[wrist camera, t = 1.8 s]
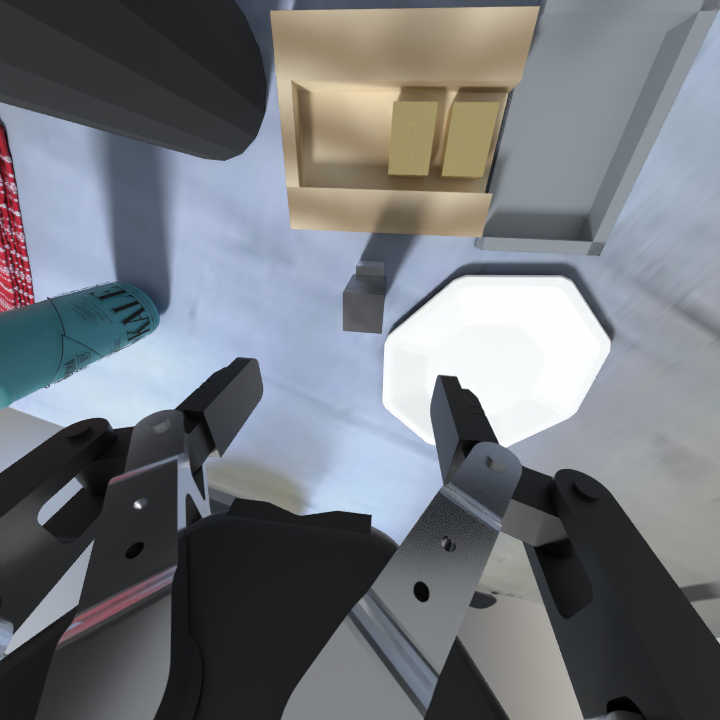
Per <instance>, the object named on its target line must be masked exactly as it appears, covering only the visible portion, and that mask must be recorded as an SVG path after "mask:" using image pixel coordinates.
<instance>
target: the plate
mask: <svg viewBox="0 0 720 720" xmlns="http://www.w3.org/2000/svg"><path fill="white" fill-rule="evenodd" d="M610 350H611V340H610V338H609V337H608V335H607V333H606V332H605V330H604V329H603V327H602V326H601V324H600V323H599V321H598V320H597V318H596V316H595V315H594V313H593V312H592V310H591V309H590V307H589V306H588V304H587V302H586V301H585V299H584V298H583V296H582V295H581V293H580V292H579V290H578V289H577V287H576V285H575V284H574V282H573V281H572V280H571V279H568V278H566V277H564V276H562V275H464V276H461V277H458V278H456V279H453V280H452V281H451V282H450V283H449V284H448V285H446V286H445V287H444V288H443V289H442V290H440V291H439V292H438V293H437V294H436V295H435V296H433V297H432V298H431V299H430V300H429V301H427V302H426V303H425V304H424V305H423V306H422V307H420V308H419V309H418V310H417V311H416V312H414V313H413V314H412V315H411V316H410V317H409V318H407V319H406V320H405V321H404V322H403V323H401V324H400V325H399V326H398V327H397V328H396V329H394V330H393V331H392V332H391V333H390V334H389V335H388V337H387V339H386V341H385V347H384V374H383V401H382V402H383V404H384V406H385V408H386V409H388V410H389V411H390V412H391V413H392V414H393V415H395V416H396V417H397V418H398V419H399V420H401V421H402V422H403V423H404V424H405V425H406V426H408V427H409V428H410V429H411V430H412V431H414V432H415V433H416V434H417V435H418V436H420V437H421V438H422V439H423V440H424V441H425V442H427V443H429V444H432V445H436V443H435V438H434V433H433V428H432V423H431V418H430V404H431V399H432V395H433V391H434V386H435V382H436V378H437V376H438V375H448V376H457V378H458V380H459V383H460V385H461V388H463V389H469V390H470V391H471V392H472V393H473V394H475V395H476V396H477V397H478V399H479V402H480V404H481V406H482V408H483V410H484V412H485V416H487V419H488V421H489V423H490V425H491V427H492V429H493V431H494V433H495V436H496V438H497V440H498V442H499V444H500V445H501V446H504V447H505V448H506V447H508V446H510V445H512V444H514V443H516V442H519V441H521V440H523V439H525V438H527V437H529V436H531V435H534V434H536V433H538V432H540V431H542V430H544V429H547V428H549V427H551V426H553V425H555V424H557V423H559V422H562V421H564V420H566V419H568V418H570V417H571V416H572V415H573V414H574V413H576V412H577V410H578V408H579V406H580V404H581V403H582V401H583V399H584V397H585V395H586V394H587V392H588V390H589V388H590V386H591V385H592V383H593V381H594V379H595V377H596V375H597V374H598V372H599V370H600V368H601V366H602V365H603V363H604V361H605V359H606V357H607V356H608V354H609V352H610Z"/></svg>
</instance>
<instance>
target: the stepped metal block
mask: <svg viewBox="0 0 720 720" xmlns="http://www.w3.org/2000/svg"><path fill="white" fill-rule="evenodd" d="M384 263H385V262H384V261H365V260H359V262H358V264H357V265H356V274H353V276H352V277H351V279H350V281H349V283H348V284H347V286H346V288H345V290H344V291H343V331H352V332H365V333H379V334H382V323H383V311H384V299H385V285H386V276H383V275H384Z"/></svg>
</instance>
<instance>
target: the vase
mask: <svg viewBox="0 0 720 720" xmlns="http://www.w3.org/2000/svg"><path fill="white" fill-rule="evenodd" d="M265 90H266V81H265V76H264V71H263V65H262V60H261V55H260V50H259V47H258V44H257V42H256V40H255V38H254V35H253V33H252V31H251V29H250V26H249V24H248V22H247V20H246V17H245V15H244V14H243V12H242V11H241V10H240V8H239V7H238V5H237V4H236V3H235V1H234V0H0V102H2V103H5V104H9V105H13V106H16V107H20V108H23V109H27V110H31V111H34V112H38V113H41V114H45V115H49V116H52V117H56V118H59V119H63V120H67V121H70V122H74V123H77V124H81V125H85V126H88V127H92V128H96V129H99V130H103V131H106V132H110V133H114V134H117V135H121V136H124V137H128V138H132V139H135V140H139V141H142V142H146V143H150V144H153V145H157V146H160V147H164V148H168V149H171V150H175V151H178V152H182V153H186V154H189V155H193V156H196V157H200V158H204V159H212V160H222V161H225V160H228V159H230V158H233V157H235V156H238V155H240V154H242V153H243V152H244V151H245V150H246V149H247V147H248V146H249V145H250V144H251V143H252V142H253V141H254V139H255V138H256V136H257V133H258V130H259V127H260V125H261V122H262V119H263V116H264V111H265Z"/></svg>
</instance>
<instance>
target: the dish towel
mask: <svg viewBox="0 0 720 720" xmlns="http://www.w3.org/2000/svg"><path fill="white" fill-rule="evenodd" d="M31 304H34V294H33V286H32V277H31V271H30V266H29V258H28V255H27V250H26V244H25V236H24V231H23V224H22V218H21V212H20V208H19V199H18V193H17V186H16V182H15V177H14V173H13V167H12V160H11V157H10V155H9V152H8V148H7V143H6V139H5V134H4V129H3V127H2V126H1V125H0V312H3V311H7V310H11V309H15V308H19V307H23V306H27V305H31Z"/></svg>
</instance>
